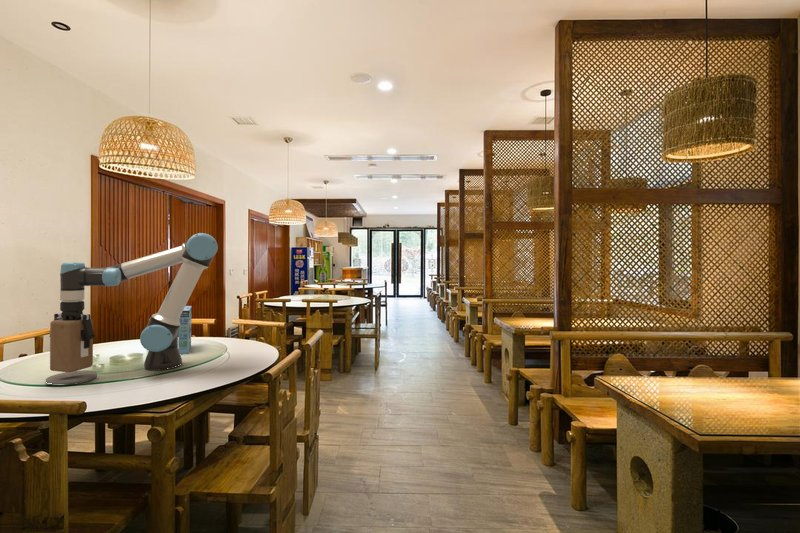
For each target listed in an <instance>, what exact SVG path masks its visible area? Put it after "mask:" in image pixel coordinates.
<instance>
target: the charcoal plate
mask: <svg viewBox="0 0 800 533" xmlns="http://www.w3.org/2000/svg"><path fill="white" fill-rule="evenodd" d="M97 377H98V371H96V370H89V369H87V370H85V369H84V370H83V369H81V370H77V371H74V372H70V373H69V372H60V373H57V374H56V373H55V374H53V375H50V376H48V377H47V378H45V383H46V382H47V383H52V384H71V385H76V384H75V383H77V384H81V382H82V383H84V382H87V381H92V380H93V379H96V378H97Z"/></svg>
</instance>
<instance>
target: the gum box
mask: <svg viewBox="0 0 800 533" xmlns="http://www.w3.org/2000/svg"><path fill="white" fill-rule="evenodd" d="M192 308H193V306H192V305H186V306H185V308H184V310H183V312H182V314H181V316H180V318H179V322H180V326H179V328H178V350H179V352H180V354H181V355H188V354H189V353H190V350H191V348H192V313H193V312H192Z"/></svg>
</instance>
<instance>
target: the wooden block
mask: <svg viewBox="0 0 800 533" xmlns="http://www.w3.org/2000/svg"><path fill="white" fill-rule="evenodd" d="M90 321H91V324H92V328H93V329H94V319H93V318H90ZM49 327H50V334H49V340H50V341H49V369H50V371H51V372H60V373H65V372H69V373H70V372H74V371H81V370H83V369H84V370H85V369H89V368H91V367H93V365H94V364H93V363H94V362H93V361H94V352H93V350H94V338H93V339H90V347H89V348H88V356H85V357H81V340H83V339H82V337H81V330H85V329H84V326H83V322H82V319H81V320H63V319H60V320H54V319H53V320H51V321H50V326H49ZM90 336H91V335H90Z"/></svg>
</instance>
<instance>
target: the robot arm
mask: <svg viewBox="0 0 800 533" xmlns="http://www.w3.org/2000/svg"><path fill="white" fill-rule="evenodd" d="M218 250H219V244H218V242H217V240H216V238H214V237H213V235H211V234H208V233H204V232H198V233H195V234H193V235H192V236H190V238H189V239H188V240H187V241H186V242H183V243H182V244H181V245H179V246H175V247H173V248H170V249H169V248H168V249H165V250H162V251H159V252H156V253H153V254H152V253H151V254H149V255H145V256H143V257H142V256H141V257H138V258H136V259H133V260H129V261H125V262H122V263H118V264H115V265H112V266H108V267H106V266H105V267H87V266H86V264H85V263H84V262H67V261H66V262H62V263H61V265H60V273H59V276H60V278H59V279H60V280H59V281H60V284H59V285H60V289H59V290H60V292H59V297H60V298H59V300H60V301H61V302H59V304H60V305H59V311H61V312H59V313H54V315H53V317H54V318H53V321H54V320H60V319H63V320H81V319H82V322H83V326H84V329H85V330H81V337H82V339H83V340H81V357H85V356H88V348H89V347H90V339H93V340H94V339H95V337H96V336H95V332H94V327H93V328H92V324H91V321H90V319H91V314H85V313H83V312H84V310H85V301H84V300H85V287H90V286H91V287H116V286H119V285H120V283H121V282H123V281H128V280H130V279H133V278H136V277H139V276H143V275H146V274H150V273H154V272H156V271H160V270H163V269H166V268H169V267H172V266H176V265H179V264H181V266H180V267H179V269H178V272H177V273H176V275H175V278H174V279H173V281H172V284H170V285H171V286H170V287H169V289H168V291H167V294H166V296H164V297H165V298H164V299H163V301H162V304H161V305H160V308H159V310H158V311H157V312H156V313H154V314H152V315H151V317H150V318H149V319H148V322H147V324H146V326H145V328H144V329H143V330H142V331H141V333H140V336H139V337H140V338H139V341H140V344H141V346H142V347H143V348H144V349H145V350H146V351H148V352H147V354H146V358H145V360H144V364H143V368H144V370H146V371H147V370H148V371H163V370H162V369H165V370H168V369H167V368H171V369H173V368H172V367H175V366H178V365H180V364H182V365H183V358H182V354H181V355H180V352H179V350H178V336H179V326H180V322H179V318H180V316H181V314H182V312H183V310H184V308H185V306H187V304H188V301H189V299H190V297H191V296H192V293H193V291H194V290H195V287H196V285H197V284H198V281H199V280H200V277H201V275H202V273H203V271H204V270H206V269H208V268H209V267H210V265H211V264H212V261H213V259H214V258H215V256H216V254H217V253H218ZM90 335H91V336H90ZM178 367H179V366H178ZM175 368H176V367H175Z"/></svg>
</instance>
